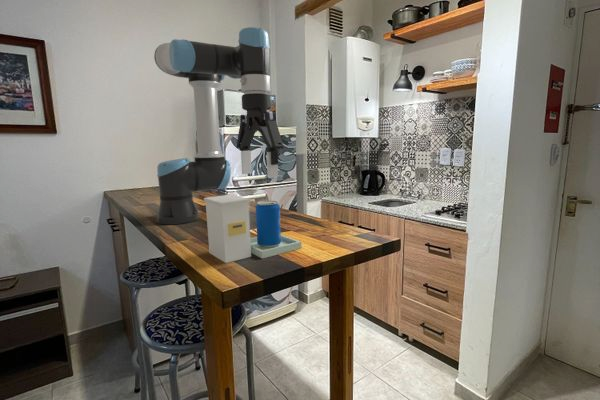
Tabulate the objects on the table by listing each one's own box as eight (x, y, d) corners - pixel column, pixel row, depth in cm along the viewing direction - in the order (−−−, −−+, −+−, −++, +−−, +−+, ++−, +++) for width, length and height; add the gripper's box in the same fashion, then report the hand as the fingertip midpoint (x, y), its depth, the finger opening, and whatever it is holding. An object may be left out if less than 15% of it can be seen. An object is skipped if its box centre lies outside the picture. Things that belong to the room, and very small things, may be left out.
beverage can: (277, 249, 86) (275, 204, 84) (254, 248, 88) (252, 204, 86) (283, 242, 92) (282, 200, 90) (261, 241, 94) (260, 200, 92)
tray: (239, 247, 91) (238, 240, 91) (276, 238, 98) (275, 232, 98) (262, 258, 81) (261, 251, 81) (301, 248, 89) (301, 241, 88)
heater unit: (207, 252, 87) (203, 197, 84) (233, 246, 91) (230, 194, 89) (225, 263, 78) (221, 203, 76) (253, 256, 83) (250, 199, 80)
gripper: (221, 98, 92) (226, 173, 96) (270, 86, 73) (272, 181, 77) (245, 99, 97) (248, 171, 101) (296, 89, 78) (298, 178, 82)
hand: (259, 175), depth 89 cm, fingers open, 13 cm apart
